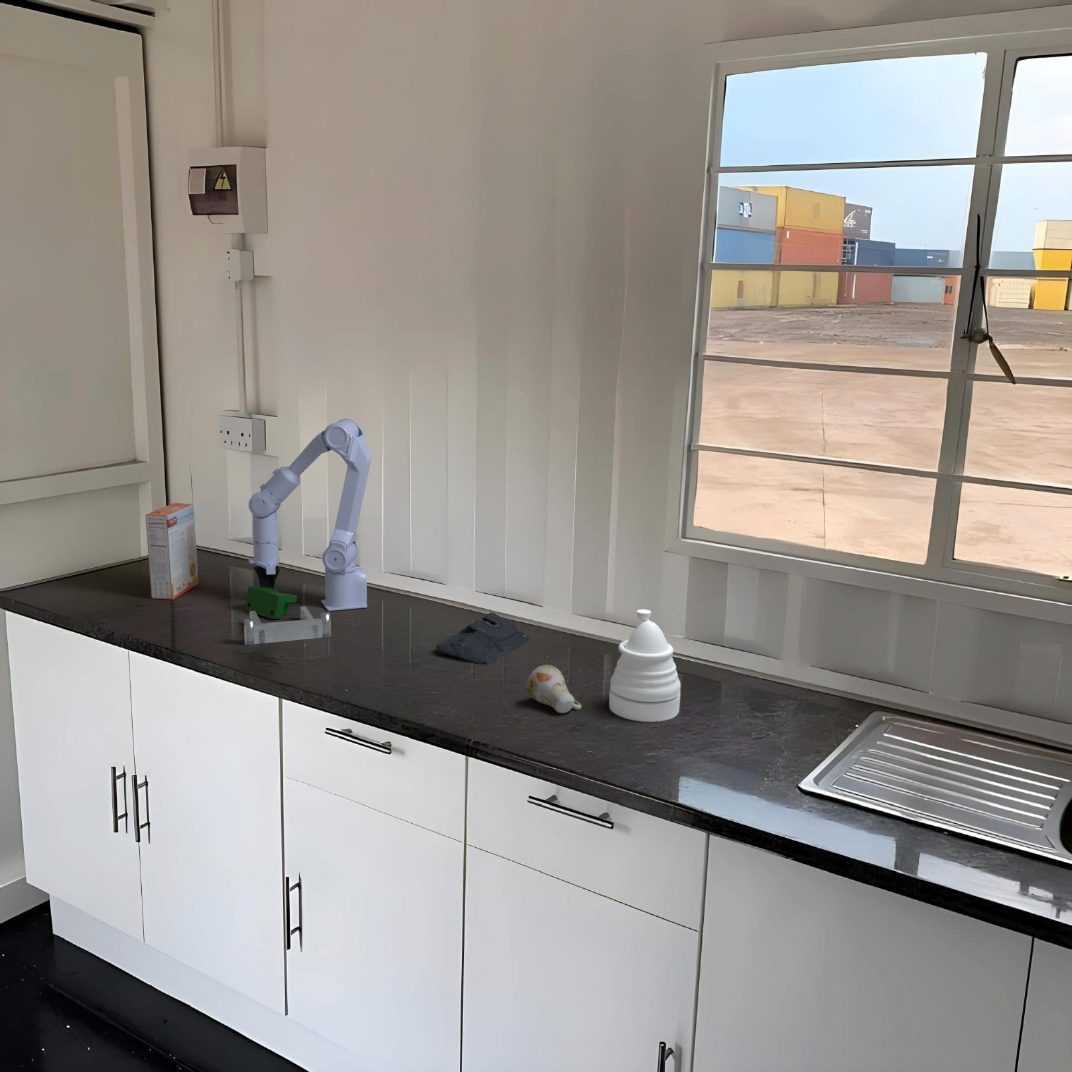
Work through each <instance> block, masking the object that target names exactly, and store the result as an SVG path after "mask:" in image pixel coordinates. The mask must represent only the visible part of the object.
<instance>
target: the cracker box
mask: <svg viewBox="0 0 1072 1072" xmlns="http://www.w3.org/2000/svg"><path fill="white" fill-rule="evenodd" d="M195 518H196V517H195V505H194V503H193V504H192V503H181V502H173V503H171V504H168V505H166V506H164V507H161V508H159V509H157V510H154V511H151V512H149V513H147V514H145V528H146V541H147V554H148V567H149V568H148V569H149V570H148V571H149V579H150V580H149V581H150V582H149V583H150V597H151V599H154V600H155V599H156V600H169V601H170V600H172V601H173V600H175V599H176V598H178V597H180V596H181V595H183V594H184V593H187V592H188V591H190V590H191V589H193V588H195V587H196V586H198V585H199V572H198V571H199V570H198V555H197V538H196V537H197V536H196V522H195V521H196V519H195Z"/></svg>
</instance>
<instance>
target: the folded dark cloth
mask: <svg viewBox="0 0 1072 1072" xmlns="http://www.w3.org/2000/svg"><path fill="white" fill-rule="evenodd" d="M528 641H531V637H530V636H529V635H526V634H525V633H524V632H523V631H519V630H518V628H517V625H516V624H515V622H514V621H512V620H510V619H508V618H506V617H503V616H500V615H499V614H496V612H489V613H488V614H486V615H485V616H483V617H482V618H481V620H480V619H479V620H475V621H474V622H472V623H468V625H467V626H465V627H464V628H463V629H461V630H460V631H459V632H458V633H456V634H455V635H454V634H453V635H451V636H449V637H448V638H446V639H445V640H444V641H441V642H438V644H436V646H435V648H436V651H437V652H438V653H440V654H445V655H449V656H452V657H458V658H460V659H462V660H465V661H468V662H471V663H474V664H480V665H481V664H482V665H490V664H492V663H495V661H497V660H498V659H500V658H502V657H505V656H506V655H508V654H510V653H511V652H513V651H515V649H517V648H519V647H520V646H523V644H525V643H527V642H528Z"/></svg>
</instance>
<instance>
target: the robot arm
mask: <svg viewBox="0 0 1072 1072" xmlns="http://www.w3.org/2000/svg"><path fill="white" fill-rule="evenodd" d="M364 433H365V432H364V431H363V429H362V428H361V426H359V425H358V423H357V422H356V421H354V420H353V419H351V418H341V419H339V420H338V421H337V422H333V423H331V424H328V425H327V426H326V428H325V429H324V430H322V431H321V432H319V433H318V434H317V435H316V436H315V437H314V438H312V440H311V441H310V442H309V443H308V445H306V447H305V448H304V449H303V450H302V451H301V453H300V454H299V455H298V456H297V457H296V458H295V459H294V460H293V461H292V463H291V464H290V465H289V466H281V467H280V468H275V469H274V470H272V473H271V474H273V475H272V476H271V477H270V479H268V481H267V482H266V483H262V484H261V485H260V486H259V489H260V490H259V491H258V492H255V493H254V494H252V495H251V497H250V499H249V501H248V509H249V511H250V512H251V514H252V541H253V542H252V543H253V544H252V546H253V548H252V549H253V558H249V559H248V564H250V565H251V564H254V565H256V566H253V570H254V572H255V574H256V575H257V579H258V583H259V587H268V588H272V589H275V584H276V580H277V577H278V575H279V574H280V568H279V565H278V564H279V563H280V558H279V526H278V525H279V524H278V510H279V509H280V507H281V505H282V503H283V502H284V501H285V500H286V499H288V497H289V496H290V495H291V494H292V493H293V492H294V491H295V489H296V488H298V486H300V484H301V475H302V474H303V473H304V472H305V471H306V470H307V469H308V468H309V467H310V466H311V465H312V464H313V463H314V462H315V461H316V460H318V458H319V457H320V456H321V455H322V454H325V453H328V452H330V451H332V452H335V453H336V454H338V455H339V456H340V457H341V458H342V460H343V461H344V463H345V464H347V468H346V472H345V478H344V482H343V487H342V492H341V497H340V502H339V506H338V511H337V515H336V520H335V521H336V522H335V525H334V530H333V532H332V534H331V537H330V540H329V544H328V546H327V548H326V549H325V550H324V552H323V553H322V557H321V558H322V563H323V566H324V575H325V576H324V579H325V581H324V583H325V585H324V586H325V588H324V589H325V599H322V600H321V603H322V605H323V606H324V608H325V609H326V610H327V612H329V611H330V612H331V611H343V610H352V609H353V610H355V609H356V610H357V609H363V608H364V609H365V608H366V609H367V608H368V601H367V600H368V599H367V598H368V592H367V591H368V590H367V589H368V588H367V587H368V586H367V585H368V584H367V583H368V582H367V574H366V570H365V568H363V567H357V565H356V564H355V559H356V558H357V557H358V554H359V550H358V549H359V548H358V545H357V540H358V534H357V528H358V523H359V519H360V514H361V510H362V505H363V502H364V501H363V500H364V495H365V491H366V485H367V481H368V476H369V471H370V467H371V461H372V457H371V454H370V451H369V449H368V446H367V443H366V440H365V434H364Z"/></svg>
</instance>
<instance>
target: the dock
mask: <svg viewBox="0 0 1072 1072" xmlns="http://www.w3.org/2000/svg"><path fill="white" fill-rule="evenodd" d="M331 620H332V619H331V613H330V612H329V611H325V612H324V611H323V612H322V611H321V613H320V617H319V618H314V616H313V615H312V614H311V612H310V611H309V609H308V607H306V606H300V620H289V621H288V620H286V621H275V622H274V621H273V622H264V623H262V621H261V620H260V618H259V616H258V614H257V613H256V611H250V612H249V618H246V619H244V621H243V624H244V625H243V628H244V629H243V631H244V636H243V637H244V645H245V646H253V645H260V644H268V643H271V644H272V643H279V642H280V643H281V642H291V641H299V640H310V639H311V640H312V639H321V638H323V639H328V638H332V631H331V630H332V624H331V623H332V621H331Z"/></svg>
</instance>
